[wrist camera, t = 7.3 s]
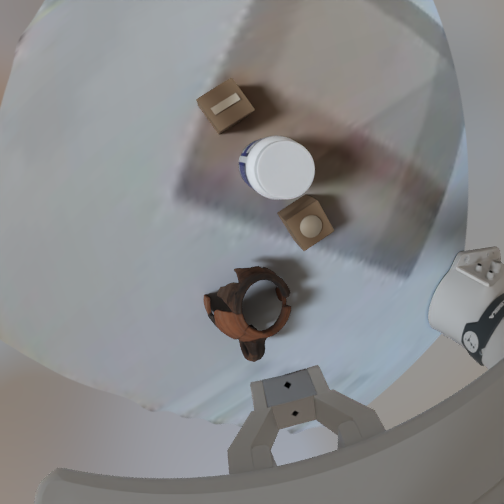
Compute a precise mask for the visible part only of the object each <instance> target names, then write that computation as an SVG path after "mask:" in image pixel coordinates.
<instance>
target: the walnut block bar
mask: <svg viewBox="0 0 504 504" xmlns="http://www.w3.org/2000/svg"><path fill="white" fill-rule="evenodd" d="M196 100H197V103H198V106H199V108H200V109H201V110H202V112H203V113H204V114H205V116H206V117H207V119H208V120H209V121H210V123H211V124H212V126H213V127H214V128H215V130H216V131H217V133H218V134H220V133H222V132H224V131H225V130H227V129H228V128H230V127H231V126H233V125H234V124H236V123H238V122H239V121H241V120H242V119H244V118H246V117H247V116H249V115H250V114H251V113H252V112H253V111H254V110H255V109H254V108H253V106H252V105H251V103H250V102H249V101H248V99H247V98H246V96H245V95H244V94H243V92H242V91H241V89H240V88H239V87H238V85H237V84H236V83H235V81H234V80H233V79H232V78H230V79H229V80H227V81H225V82H223V83H222V84H220V85H218V86H217V87H215V88H214V89H212V90H210V91H209V92H207V93H206V94H204V95H202V96H201V97H199V98H198V99H196Z"/></svg>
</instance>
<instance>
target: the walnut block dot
mask: <svg viewBox="0 0 504 504" xmlns="http://www.w3.org/2000/svg"><path fill="white" fill-rule="evenodd" d="M277 214H278V215H279V217H280V218H281V220H282V222H283V223H284V225H285V226H286V228H287V230H288V231H289V233H290V234H291V236H292V238H293V239H294V241H295V242H296V243H297V244H298V245H299V246H300V247H301V249H302V250H303V251H305V250H307V249H308V248H310V247H311V246H313V245H314V244H316V243H317V242H319V241H320V240H322V239H323V238H325V237H326V236H328V235H329V234H331V233H332V232H334V230H333V228H332V226H331V224H330V222H329V220H328V218H327V216H326V215H325V213H324V211H323V209H322V207H321V205H320V204H319V202H318V200H316V199H314V198H312V197H310V196H308V195H306V194H305V195H304V196H302V197H301V198H299V199H298V200H296V201H295V202H293V203H292V204H290V205H288V206H287V207H285V208H284V209H282V210H281V211H279V212H278V213H277Z"/></svg>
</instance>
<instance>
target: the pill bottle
mask: <svg viewBox="0 0 504 504" xmlns="http://www.w3.org/2000/svg"><path fill="white" fill-rule="evenodd" d="M239 172H240V175H241V177H242V178H243V180H244V181H245V182H246V184H248V185H249V186H250V187H251V188H253V189H254V190H255V191H256V192H257V193H259V194H260V195H262V196H264V197H266V198H270V199H276V200H280V199H293V198H296V197H298V196H300V195H302V194H303V193H305V192H306V191H307V190H308V188H309V187H310V186H311V184H312V182H313V179H314V175H315V165H314V161H313V158H312V156H311V154H310V153H309V151H308V150H307V149H306V148H305V147H304V146H302V145H301V144H299V143H297V142H296V141H294V140H292V139H290V138H288V137H284V136H270V137H266V138H263V139H259V140H256V141H254V142H252V143H250V144H249V145H248V146H247V147H246V148H245V149H244V150H243V151H242V153H241V155H240V158H239Z"/></svg>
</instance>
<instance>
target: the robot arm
mask: <svg viewBox="0 0 504 504" xmlns="http://www.w3.org/2000/svg"><path fill="white" fill-rule="evenodd" d="M500 260H501V257H500V250H499V248H497V247H489V248H482V249H476V250H469V251H462V252H459V253H458V254H457V256H456V258H455V260H454V262H453V264H452V266H451V268H450V270H449V271H448V273H447V274H446V275H445V276H444V278H443V279H442V281H441V282H440V284H439V285H438V287H437V289H436V291H435V293H434V295H433V298H432V300H431V303H430V307H429V313H428V320H429V324H430V326H431V327H432V328H433V329H435V330H437V331H439V332H441V333H442V334H443V335H444V336H446V337H447V338H451V339H452V340H454V341H455V342H456V343H458V344H459V345H461V346H462V347H463V348H465V349H466V350H467V351H468V353H469V355H470V356H472V357H473V358H474V359H475V361H476V362H478V363H479V364H480V365H482V366H484V365H485V366H486V367H487V368H488V369H489V370H488V371H487V372H485V373H484V374H482V375H481V376H480V377H478V378H477V379H475V380H474V381H473V382H471V383H470V384H468V385H467V386H465V387H464V388H462V389H461V390H459V391H458V392H456V393H455V394H453V395H452V396H450V397H449V398H447V399H445V400H444V401H442V402H440V403H439V404H437V405H435V406H434V407H432V408H430V409H428V410H426V411H425V412H423V413H421V414H419V415H417V416H415V417H413V418H411V419H410V420H408V421H406V422H404V423H401V424H399V425H397V426H395V427H393V428H391V429H389V430H387V431H386V430H385V428H384V426H383V425H382V423H381V421H380V419H379V417H378V415H377V414H376V412H375V410H373V409H371V408H369V407H367V406H365V405H363V404H361V403H359V402H357V401H355V400H353V399H351V398H349V397H347V396H345V395H343V394H341V393H339V392H337V391H335V390H330V389H329V387H328V385H327V383H326V381H325V378H324V376H323V374H322V372H321V370H320V367H319V366H318V365H316V366H313V367H309V368H307V369H302V370H299V371H296V372H292V373H289V374H285V375H282V376H278V377H273V378H269V379H264V380H260V381H256V382H251V384H250V386H251V392H252V399H253V405H254V411H251V413H250V414H249V416H248V418H247V419H246V421H245V423H244V424H243V426H242V428H241V429H240V431H239V433H238V434H237V436H236V437H235V439H234V441H233V443H232V444H231V445H230V447H229V449H228V464H229V475H220V476H209V477H197V478H170V479H169V478H134V477H120V476H110V475H102V474H94V473H88V472H82V471H76V470H71V469H66V468H57V469H55V470H54V471H52V472H51V473H50V474H49V475H48V476H46V477H45V478H44V479H43V480H42V481H41V482H40V484H39V486H38V488H37V492H36V496H35V501H34V504H504V264H502V263H501V261H500ZM316 419H317V421H318V422H320V423H321V424H323V425H324V426H325V427H327V428H328V429H330V430H331V431H332V432H334V433H335V434H337V435H338V450H335V451H332V452H329V453H326V454H323V455H319V456H317V457H312V458H309V459H305V460H301V461H298V462H294V463H290V464H285V465H281V466H277V465H276V462H275V460H274V458H273V455H272V453H271V448H272V446H273V443H274V441H275V439H276V436H277V434H278V431H279V429H283V428H286V427H290V426H293V425H297V424H301V423H305V422H309V421H312V420H316Z"/></svg>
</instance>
